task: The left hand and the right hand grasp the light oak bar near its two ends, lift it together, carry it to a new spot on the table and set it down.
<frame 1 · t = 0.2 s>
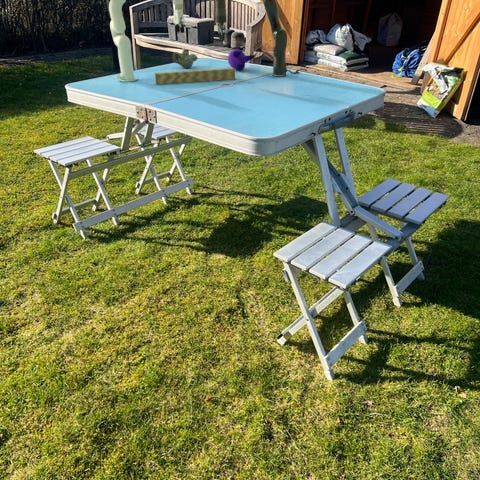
left hand: (180, 32, 344), 31 cm above the table, tool pointing down, fingers open, 9 cm apart
right hand: (221, 40, 325), 27 cm above the table, tool pointing down, fingers open, 8 cm apart
bar: (196, 81, 335), on the table
toy: (240, 70, 373), on the table
teapot: (185, 68, 386), on the table
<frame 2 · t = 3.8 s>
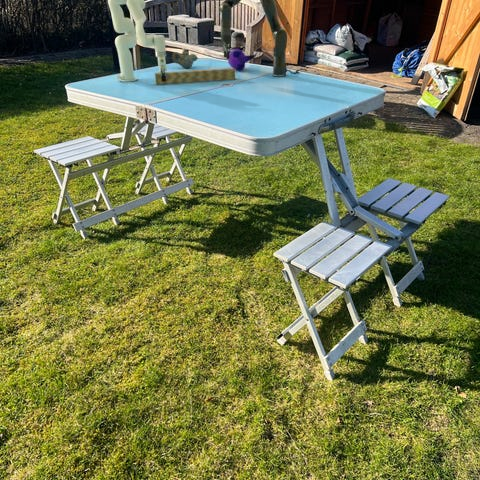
left hand: (163, 80, 329), 2 cm above the table, tool pointing down, fingers closed on bar, 4 cm apart
right hand: (226, 58, 332), 15 cm above the table, tool pointing down, fingers open, 8 cm apart
bar: (196, 81, 335), on the table, touching left hand
everything else where it was.
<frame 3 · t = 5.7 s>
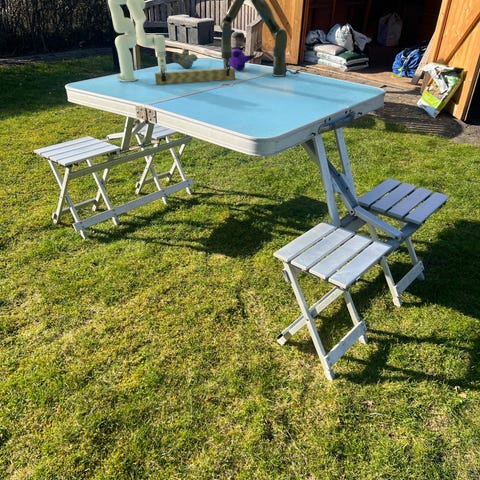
left hand: (163, 80, 329), 2 cm above the table, tool pointing down, fingers closed on bar, 4 cm apart
right hand: (227, 75, 338), 3 cm above the table, tool pointing down, fingers closed on bar, 4 cm apart
bar: (196, 81, 335), on the table, touching left hand, right hand
everything else where it was.
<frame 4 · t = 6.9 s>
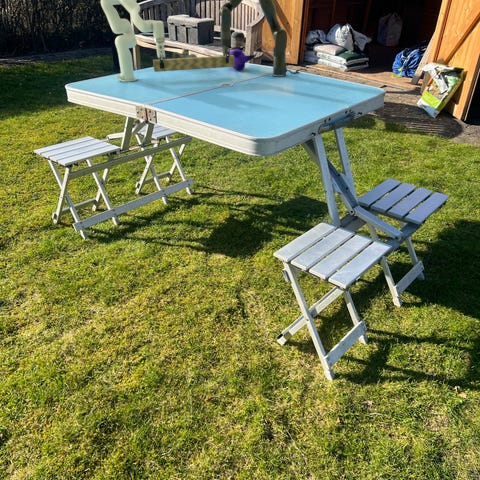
left hand: (161, 67, 324), 11 cm above the table, tool pointing down, fingers closed on bar, 4 cm apart
right hand: (226, 62, 334), 12 cm above the table, tool pointing down, fingers closed on bar, 4 cm apart
bar: (194, 68, 330), point 9 cm above the table, touching left hand, right hand
everything else where it was.
when the left hand's fingers open (4 cm above the table, at t = 10.5 s): bar drops 1 cm, on the table.
when the right hand's fingers open (4 cm above the table, at t = 10.6 s): bar stays where it is, on the table.
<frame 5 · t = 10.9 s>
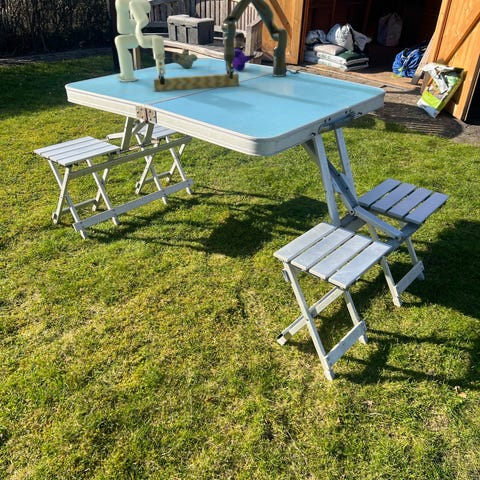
left hand: (162, 83, 308), 5 cm above the table, tool pointing down, fingers open, 8 cm apart
right hand: (230, 77, 318), 5 cm above the table, tool pointing down, fingers open, 7 cm apart
bar: (197, 87, 316), on the table
everything else where it was.
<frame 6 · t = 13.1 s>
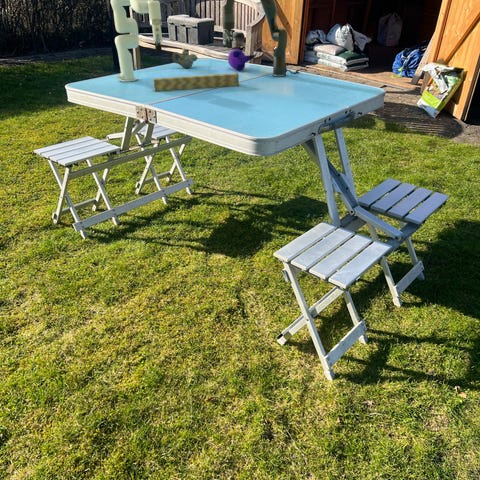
left hand: (158, 50, 298), 25 cm above the table, tool pointing down, fingers open, 9 cm apart
right hand: (229, 47, 308), 25 cm above the table, tool pointing down, fingers open, 8 cm apart
nothing on the table moved.
at the end: bar inside the target area (0.3 cm from its centre), on the table; bar tilted 0°; bar never tilted more than 2° during the clip; both hands held the bar at the same time; the left hand is holding nothing; the right hand is holding nothing; bar at rest at the end (0.0 cm/s) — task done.
